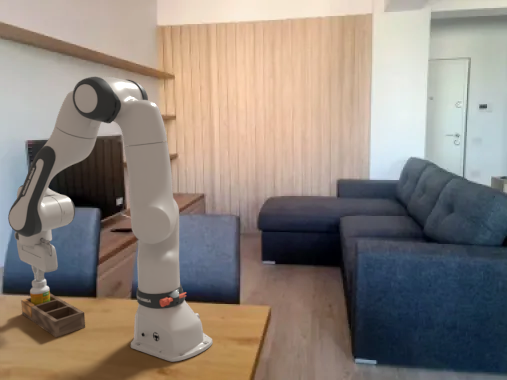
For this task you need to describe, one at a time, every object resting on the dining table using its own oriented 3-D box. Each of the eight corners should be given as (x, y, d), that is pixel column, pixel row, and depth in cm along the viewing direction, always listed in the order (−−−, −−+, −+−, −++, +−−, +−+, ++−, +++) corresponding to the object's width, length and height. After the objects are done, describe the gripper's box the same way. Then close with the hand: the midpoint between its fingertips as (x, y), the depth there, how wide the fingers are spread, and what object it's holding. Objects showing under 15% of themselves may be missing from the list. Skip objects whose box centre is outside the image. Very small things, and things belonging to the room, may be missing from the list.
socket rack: (85, 327, 132) (84, 311, 132) (55, 337, 126) (53, 321, 125) (49, 305, 148) (48, 291, 148) (21, 314, 142) (20, 299, 141)
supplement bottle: (46, 314, 139) (43, 283, 138) (28, 314, 139) (25, 283, 138) (53, 307, 145) (51, 277, 143) (37, 307, 145) (34, 277, 143)
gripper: (61, 239, 134) (64, 284, 136) (32, 229, 148) (36, 270, 150) (39, 243, 130) (43, 290, 132) (12, 232, 143) (15, 275, 145)
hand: (39, 279), depth 141 cm, fingers closed
